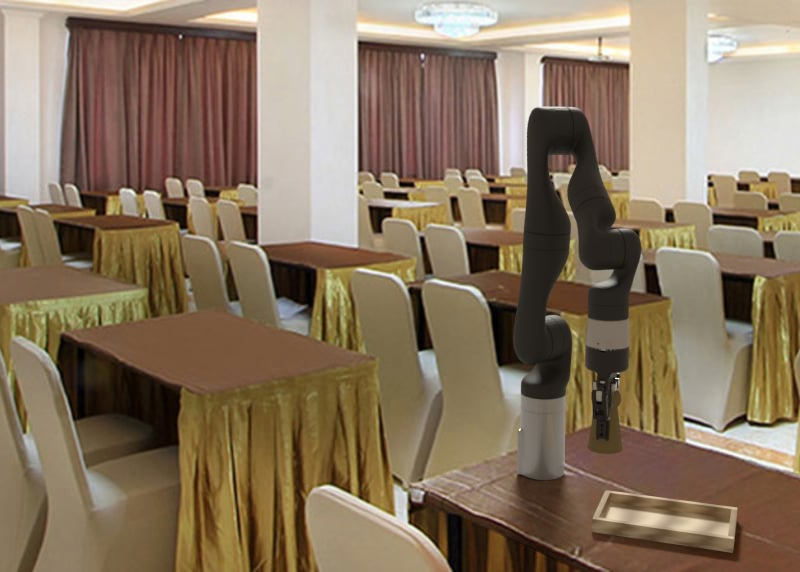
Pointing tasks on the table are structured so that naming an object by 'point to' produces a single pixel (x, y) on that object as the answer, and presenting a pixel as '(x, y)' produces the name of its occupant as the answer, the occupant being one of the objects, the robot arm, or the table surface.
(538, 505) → the table surface
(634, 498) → the birch tray
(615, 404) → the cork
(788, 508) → the table surface
